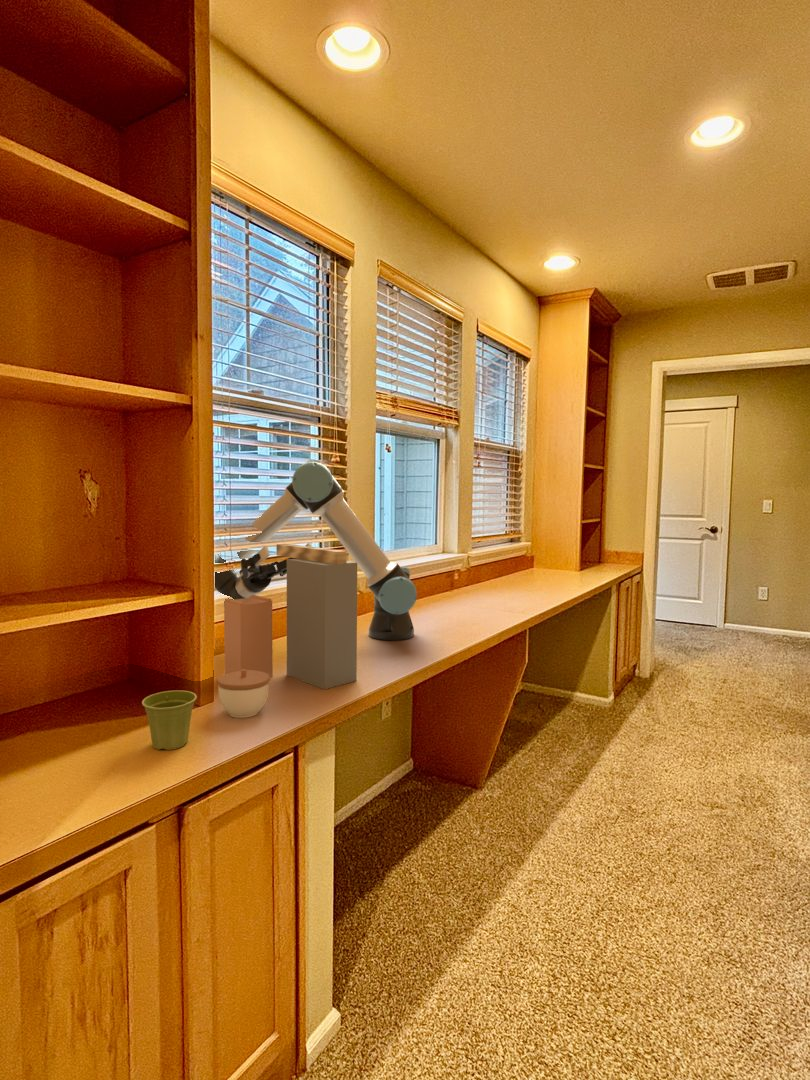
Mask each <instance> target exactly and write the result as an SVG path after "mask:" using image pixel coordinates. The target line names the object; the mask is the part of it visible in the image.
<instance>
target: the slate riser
mask: <svg viewBox="0 0 810 1080" xmlns="http://www.w3.org/2000/svg"><path fill="white" fill-rule="evenodd" d="M286 559H287V573H286V675H287V676H289V677H291V678H294V679H297V680H299V681H302V682H304V683H307V684H310V685H312V686H314V687H318V688H320V689H322V690H328V688H329V689H331V688H335V686H336V687H339V686H342V684H343V685H346V683H347V684H350V683H353V681H354V682H357V678H358V677H357V674H358V673H357V671H358V669H357V668H358V667H357V666H358V663H357V662H358V661H357V660H358V659H357V658H358V657H357V655H358V653H357V651H358V647H357V646H358V565H357V562H355V561H352V560H351V561H350V560H347V563H345V564H332V563H325V562H318V561H311V560H304V559H288V558H286ZM349 682H350V683H349Z"/></svg>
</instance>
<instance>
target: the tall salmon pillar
mask: <svg viewBox="0 0 810 1080" xmlns="http://www.w3.org/2000/svg"><path fill="white" fill-rule="evenodd" d="M223 615H224V616H223V617H224V618H223V621H224V622H223V623H224V626H223V627H224V628H223V629H224V631H223V633H224V638H223V639H224V640H223V641H224V674H227V673H230V672H235V671H241V670H242V669H246V670H255V671H262V672H265V673H267V674H268V675H269V676H270V678H271V677H273V675H274V674H273V673H274V672H273V600H272V598H268V597H263V596H259V595H257V596H256V595H252V596H251V598H243V599H235V600H233V599H229V598H228V599H225V601H224V606H223Z"/></svg>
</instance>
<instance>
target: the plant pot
mask: <svg viewBox="0 0 810 1080" xmlns="http://www.w3.org/2000/svg"><path fill="white" fill-rule="evenodd" d="M197 699H198V696H197V694H196V693H194V692H192V691H189V690H177V689H176V690H165V691H160V692H157V693H153V694H150V695H148V696H146V697H144V699H142V701H141V705H142V706H143V707H144V709H145V713H146V715H147V721H148V726H149V731H150V738H151V743H152V747H153V748H154V749H155V750H162V749H163V750H166V751H173V750H176V749H180V748H182V747H184V746H185V744H186V743H188V742H189V741H188V740H189V733H190V725H191V719H192V712H193V708H194V705H195V702H196V700H197Z"/></svg>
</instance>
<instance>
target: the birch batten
mask: <svg viewBox="0 0 810 1080" xmlns="http://www.w3.org/2000/svg"><path fill="white" fill-rule="evenodd" d="M347 553H348V551H347V550H341V549H333V548H325V547H323V548H322V547H316V546H311V547H308V546H305V545H298V544H289V543H281V544H278V543H277V544H276V556H278V557H284V558H297V559H304V560H311V561H318V562H325V563H332V564H345V563H347V561H348V560H347V559H348V558H347V555H348V554H347Z"/></svg>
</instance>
